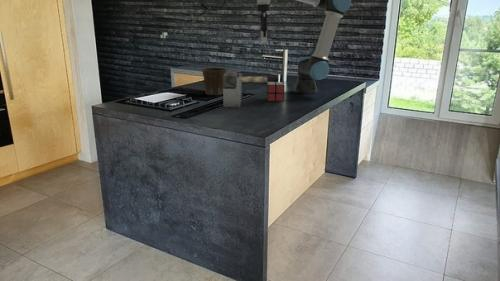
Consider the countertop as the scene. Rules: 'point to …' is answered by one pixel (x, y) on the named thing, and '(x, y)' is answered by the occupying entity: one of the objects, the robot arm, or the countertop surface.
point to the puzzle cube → (275, 91)
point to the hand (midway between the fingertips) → (263, 42)
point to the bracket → (233, 94)
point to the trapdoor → (231, 79)
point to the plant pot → (214, 80)
